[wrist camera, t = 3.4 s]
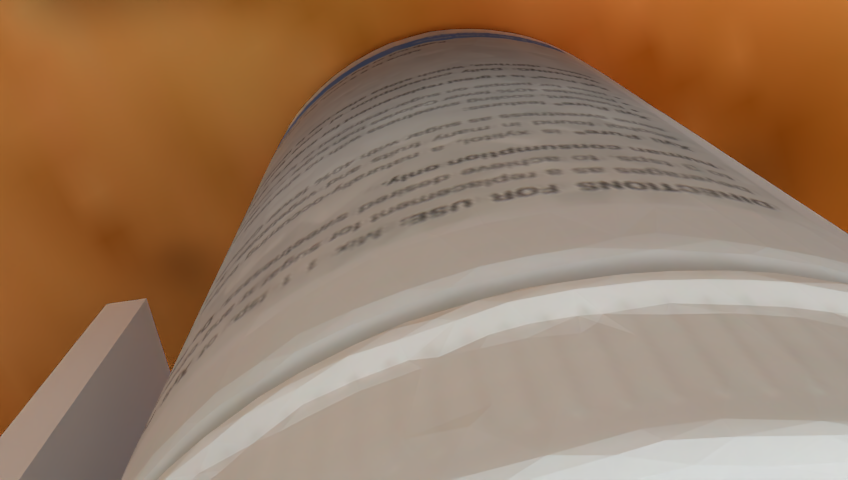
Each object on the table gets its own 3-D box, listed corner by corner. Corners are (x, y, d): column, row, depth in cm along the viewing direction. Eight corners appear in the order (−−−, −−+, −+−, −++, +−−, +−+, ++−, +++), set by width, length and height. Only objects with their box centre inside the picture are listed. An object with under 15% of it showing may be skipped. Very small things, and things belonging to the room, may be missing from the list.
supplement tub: (210, 295, 19) (-244, 1188, 6) (375, -61, 16) (262, -11, 2) (534, 433, 21) (787, 1339, 8) (736, 140, 18) (1775, 780, 4)
